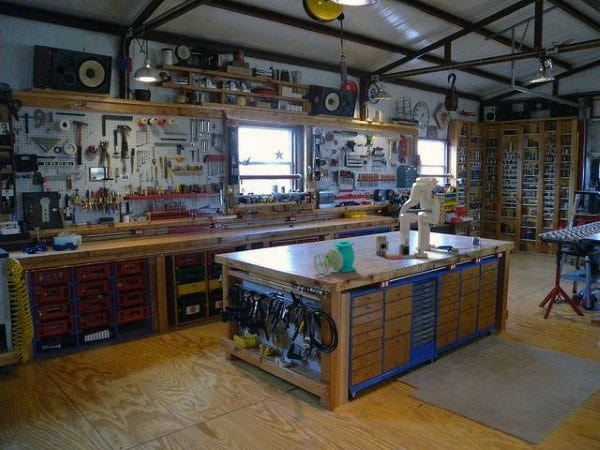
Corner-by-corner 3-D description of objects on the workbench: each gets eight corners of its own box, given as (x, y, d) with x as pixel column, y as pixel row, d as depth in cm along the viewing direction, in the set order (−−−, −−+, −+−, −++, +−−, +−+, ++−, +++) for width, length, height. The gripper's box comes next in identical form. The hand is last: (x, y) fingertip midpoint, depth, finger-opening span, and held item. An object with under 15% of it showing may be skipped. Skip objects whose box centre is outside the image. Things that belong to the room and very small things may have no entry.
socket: (406, 253, 394) (406, 245, 393) (409, 255, 388) (409, 246, 387) (399, 254, 393) (399, 245, 392) (402, 255, 387) (402, 246, 386)
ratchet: (424, 256, 385) (424, 247, 384) (429, 258, 375) (430, 249, 374) (383, 257, 378) (383, 248, 378) (388, 259, 369) (388, 250, 368)
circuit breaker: (379, 256, 382) (379, 237, 380) (373, 253, 396) (373, 234, 394) (388, 256, 383) (389, 237, 382) (382, 253, 397) (382, 234, 396)
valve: (358, 242, 326) (324, 252, 309) (360, 268, 330) (326, 280, 312) (343, 239, 337) (309, 249, 320) (345, 265, 341) (311, 276, 323)
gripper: (396, 228, 396) (395, 251, 398) (404, 231, 379) (404, 255, 381) (404, 228, 397) (404, 250, 399) (414, 231, 380) (413, 254, 382)
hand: (404, 252), depth 390 cm, fingers closed on socket, 6 cm apart
